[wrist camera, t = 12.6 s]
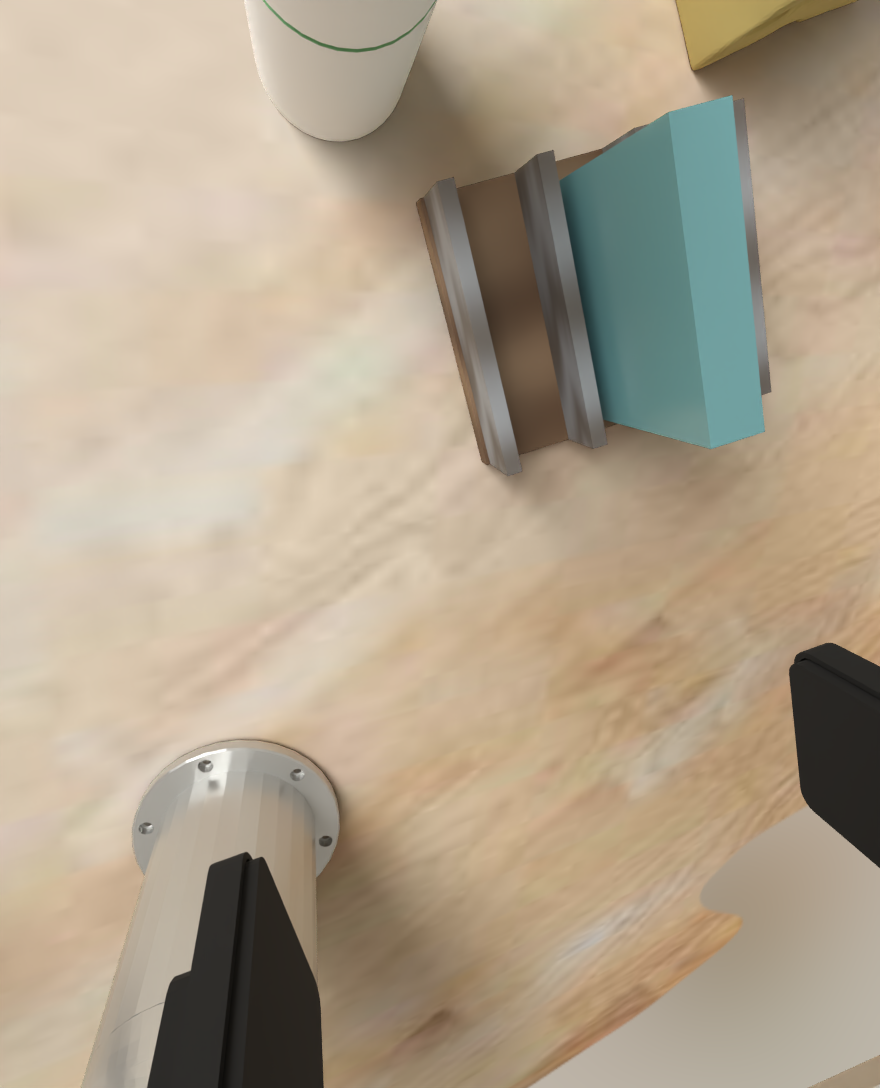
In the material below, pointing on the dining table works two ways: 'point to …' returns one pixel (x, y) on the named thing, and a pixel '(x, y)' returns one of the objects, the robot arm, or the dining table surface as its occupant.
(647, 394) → the teal slab
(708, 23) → the cheese
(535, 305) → the rack
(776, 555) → the dining table surface
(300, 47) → the cylindrical container
